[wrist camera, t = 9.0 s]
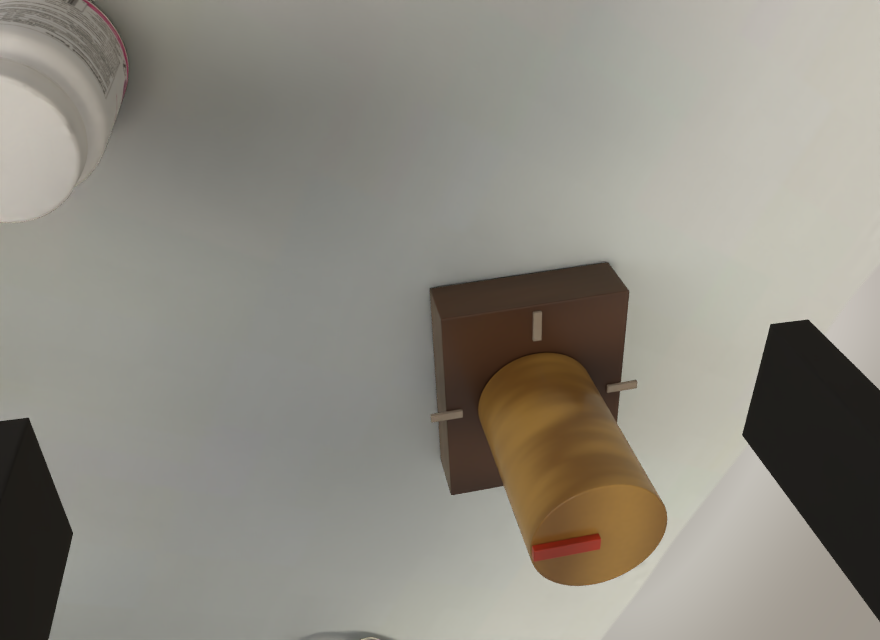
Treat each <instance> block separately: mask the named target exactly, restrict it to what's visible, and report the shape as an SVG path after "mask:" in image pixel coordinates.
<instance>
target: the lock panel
mask: <svg viewBox="0 0 880 640" xmlns="http://www.w3.org/2000/svg"><path fill="white" fill-rule="evenodd" d="M628 299H629V290H628V289H627V287H626V286H625V285H624V283H623V282H622V281H621V279H620V278H619V277H618V275H617V274H616V273H615V271H614V270H613V269H612V267H611V266H610V265H609V263H600V264H593V265H586V266H579V267H572V268H566V269H559V270H552V271H545V272H538V273H532V274H525V275H518V276H511V277H504V278H497V279H491V280H484V281H477V282H470V283H463V284H456V285H450V286H443V287H436V288H431V289H430V301H431V317H432V332H433V347H434V362H435V377H436V393H437V408H438V413H435V414H431V422H438V423H439V438H440V453H441V462H442V465H443V469H444V472H445V476H446V479H447V483H448V486H449V490H450V493H451V495H456V494H462V493H467V492H473V491H478V490H484V489H489V488H495V487H500V486H504V485H503V482H502V479H501V477H500V474H499V471H498V468H497V466H496V463H495V460H494V458H493V455H492V452H491V449H490V447H489V444H488V441H487V438H486V436H485V433H484V430H483V428H482V425H481V422H480V419H479V413H478V406H479V401H480V397H481V394H482V392H483V390H484V388H485V386H486V385H487V383H488V382H489V380H490V379H491V378H492V377H493V376H494V375H495V374H496V373H497V372H498V371H499V370H500V369H502V368H503V367H504V366H506V365H507V364H509V363H511V362H513V361H515V360H517V359H519V358H521V357H524V356H528V355H532V354H536V353H558V354H562V355H566V356H568V357H571V358H573V359H574V360H576V361H578V362H579V363H580V364H581V365H582V366H583V367H584V368H585V369H586V371H587V372H588V374H589V376H590V377H591V379H592V381H593V383H594V384H595V386H596V388H597V390H598V391H599V393H600V395H601V396H602V398H603V400H604V402H605V403H606V405H607V407H608V409H609V410H610V412H611V414H612V416H613V417H614V419H615V421H616V422H617V416H618V405H619V395H620V391H622V390H628V389H633V388H637V380H632V381H626V382H621V373H622V363H623V352H624V342H625V331H626V320H627V310H628Z"/></svg>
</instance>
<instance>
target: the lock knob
mask: <svg viewBox="0 0 880 640" xmlns="http://www.w3.org/2000/svg"><path fill="white" fill-rule="evenodd" d="M478 413H479V419H480V422H481V425H482V428H483V430H484V433H485V436H486V438H487V441H488V444H489V447H490V449H491V452H492V455H493V458H494V460H495V463H496V466H497V468H498V471H499V474H500V477H501V479H502V482H503V485H504V488H505V490H506V493H507V496H508V498H509V501H510V504H511V507H512V509H513V512H514V515H515V518H516V520H517V523H518V526H519V528H520V531H521V534H522V537H523V539H524V542H525V545H526V548H527V550H528V553H529V556H530V558H531V561H532V563H533V565H534V567H535V568H536V570H537V571H538V572H539V573H540V574H541V575H542V576H543V577H545V578H547V579H548V580H551V581H553V582H555V583H559V584H563V585H570V586H583V585H591V584H597V583H601V582H605V581H608V580H611V579H613V578H616V577H618V576H620V575H622V574H624V573H626V572H628V571H630V570H631V569H633V568H635V567H636V566H637V565H639V564H640V563H641V562H643V561H644V560H645V559H646V558H647V557H648V556H649V555H650V554H651V553H652V552H653V551H654V550H655V548H656V547H657V546H658V544H659V543H660V541H661V539H662V538H663V535H664V533H665V530H666V526H667V512H666V509H665V506H664V504H663V502H662V500H661V499H660V497H659V495H658V493H657V492H656V490H655V488H654V487H653V485H652V483H651V481H650V480H649V478H648V476H647V474H646V473H645V471H644V469H643V468H642V466H641V464H640V462H639V461H638V459H637V457H636V455H635V454H634V452H633V450H632V448H631V447H630V445H629V443H628V442H627V440H626V438H625V436H624V435H623V433H622V431H621V429H620V428H619V426H618V424H617V422H616V421H615V419H614V417H613V416H612V414H611V412H610V410H609V409H608V407H607V405H606V403H605V402H604V400H603V398H602V396H601V395H600V393H599V391H598V390H597V388H596V386H595V384H594V383H593V381H592V379H591V377H590V376H589V374H588V372H587V371H586V369H585V368H584V367H583V366H582V365H581V364H580V363H579V362H578V361H576V360H574V359H573V358H571V357H568V356H566V355H562V354H558V353H536V354H532V355H528V356H524V357H521V358H519V359H517V360H515V361H513V362H511V363H509V364H507V365H506V366H504V367H503V368H502V369H500V370H499V371H498V372H497V373H496V374H495V375H494V376H493V377H492V378H491V379H490V380H489V382H488V383H487V385H486V386H485V388H484V390H483V392H482V394H481V397H480V401H479V406H478Z"/></svg>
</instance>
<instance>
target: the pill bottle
mask: <svg viewBox="0 0 880 640" xmlns="http://www.w3.org/2000/svg"><path fill="white" fill-rule="evenodd" d="M128 74H129V64H128V57H127V53H126V49H125V46H124V44H123V41H122V39H121V37H120V35H119V33H118V32H117V30H116V29H115V27H114V26H113V24H112V23H111V21H110V20H109V19H108V18H107V17H106V16H105V14H104V13H103V12H102V11H101V10H99V9H98V8H97V7H96V6H95V5H94V4H92V3H91V2H90V1H88V0H0V223H17V222H25V221H30V220H34V219H37V218H40V217H42V216H44V215H47V214H48V213H50V212H52V211H54V210H55V209H57V208H58V207H59V206H60V205H62V203H63V202H65V201H66V200H67V198H68V197H69V196H70V194H71V193H72V191H73V190H74V188H75V187H76V186H78V185H79V184H80V183H82V182H83V181H84V180H85V179H86V178H87V177H88V176H89V175H90V174H91V173H92V172H93V171H94V169H95V168H96V166H97V165H98V163H99V162H100V160H101V158H102V156H103V154H104V151H105V149H106V146H107V144H108V141H109V138H110V135H111V132H112V129H113V127H114V124H115V121H116V118H117V115H118V112H119V109H120V106H121V103H122V100H123V97H124V94H125V91H126V87H127V83H128Z"/></svg>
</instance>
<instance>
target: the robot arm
mask: <svg viewBox="0 0 880 640" xmlns="http://www.w3.org/2000/svg"><path fill="white" fill-rule="evenodd" d="M742 435H743V437H744V438H745V440H746V441H747V442H748V444H749V445H750V446H751V448H752V449H753V450H754V452H755V453H756V454H757V456H758V457H759V459H760V460H761V461H762V463H763V464H764V465H765V467H766V468H767V469H768V471H769V472H770V473H771V475H772V476H773V477H774V479H775V480H776V481H777V483H778V484H779V485H780V487H781V488H782V490H783V491H784V492H785V494H786V495H787V496H788V498H789V499H790V501H791V502H792V503H793V505H794V506H795V507H796V509H797V510H798V511H799V513H800V514H801V515H802V517H803V518H804V519H805V521H806V522H807V524H808V525H809V526H810V528H811V529H812V530H813V532H814V533H815V534H816V536H817V537H818V538H819V540H820V541H821V543H822V544H823V545H824V547H825V548H826V549H827V551H828V552H829V553H830V555H831V556H832V557H833V559H834V560H835V561H836V563H837V564H838V566H839V567H840V568H841V570H842V571H843V572H844V574H845V575H846V576H847V578H848V579H849V580H850V581H851V583H852V585H853V586H854V587H855V589H856V590H857V591H858V593H859V594H860V595H861V597H862V598H863V599H864V601H865V602H866V603H867V605H868V606H869V608H870V609H871V610H872V612H873V613H874V614H875V616H876V617H877V618H878V620H879V621H880V390H879V389H878V388H877V387H876V386H875V385H874V384H873V383H872V382H871V381H870V380H869V379H868V378H867V377H866V376H865V375H864V374H863V373H862V372H861V371H860V370H859V369H858V368H857V367H856V366H855V365H854V364H852V362H851V361H849V359H847V357H846V356H844V354H842V353H841V352H840V351H839V350H838V349H837V348H836V347H835V346H834V345H833V344H832V343H831V342H830V341H829V340H828V339H827V338H826V337H825V336H824V335H823V334H822V333H821V332H820V331H819V330H818V329H817V328H816V327H815V326H814V325H813V324H812V323H811V322H810V321H809V320H801V321H793V322H785V323H777V324H771V325H770V329H769V332H768V336H767V340H766V344H765V348H764V352H763V356H762V360H761V364H760V368H759V372H758V376H757V379H756V383H755V387H754V391H753V395H752V399H751V403H750V407H749V411H748V415H747V419H746V422H745V426H744V430H743V434H742ZM72 536H73V532H72V529H71V527H70V524H69V521H68V519H67V516H66V514H65V511H64V508H63V506H62V503H61V501H60V498H59V495H58V493H57V490H56V488H55V485H54V482H53V480H52V477H51V475H50V472H49V469H48V467H47V464H46V462H45V459H44V456H43V454H42V451H41V449H40V446H39V443H38V441H37V438H36V436H35V433H34V430H33V428H32V425H31V423H30V420H29V418H23V419H15V420H7V421H0V640H48V638H49V634H50V630H51V626H52V621H53V617H54V613H55V609H56V604H57V600H58V596H59V591H60V587H61V583H62V579H63V574H64V570H65V566H66V561H67V557H68V553H69V549H70V544H71V540H72Z"/></svg>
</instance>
